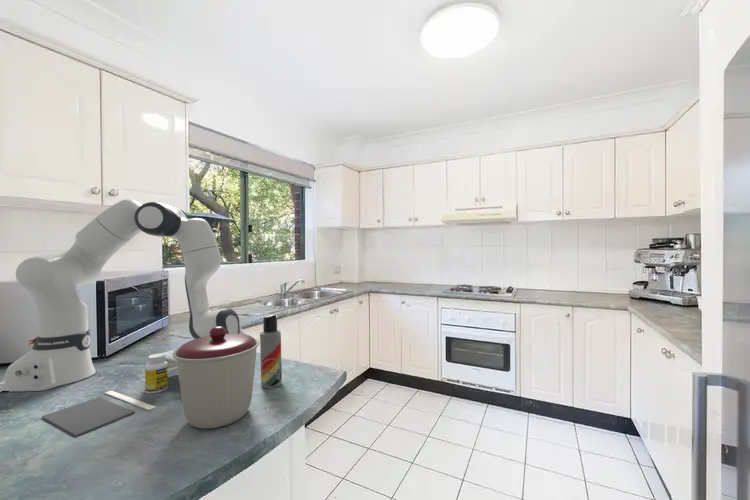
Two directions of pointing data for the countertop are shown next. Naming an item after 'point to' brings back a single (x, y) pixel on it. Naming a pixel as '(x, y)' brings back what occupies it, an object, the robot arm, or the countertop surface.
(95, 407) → the mat
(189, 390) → the canister
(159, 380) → the supplement bottle
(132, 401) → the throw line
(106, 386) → the countertop surface
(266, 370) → the lotion bottle
